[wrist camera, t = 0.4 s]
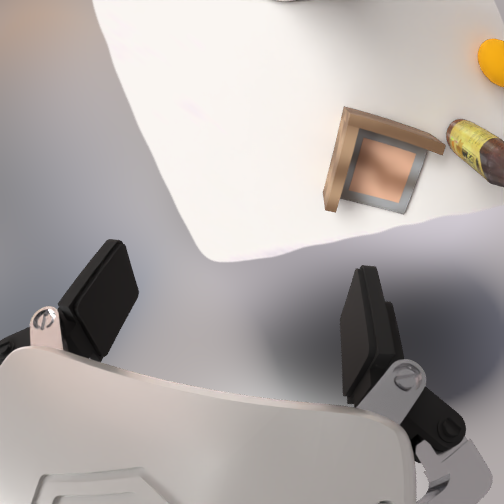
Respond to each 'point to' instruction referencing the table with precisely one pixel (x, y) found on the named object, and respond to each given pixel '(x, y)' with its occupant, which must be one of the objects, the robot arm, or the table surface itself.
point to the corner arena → (376, 161)
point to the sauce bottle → (478, 149)
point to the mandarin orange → (492, 60)
